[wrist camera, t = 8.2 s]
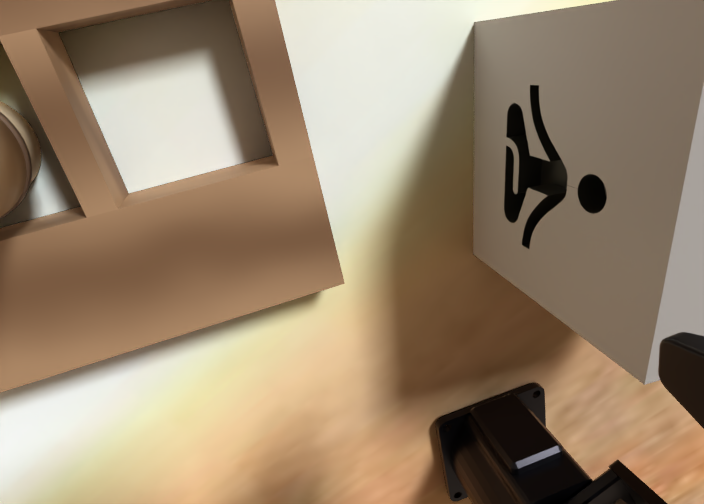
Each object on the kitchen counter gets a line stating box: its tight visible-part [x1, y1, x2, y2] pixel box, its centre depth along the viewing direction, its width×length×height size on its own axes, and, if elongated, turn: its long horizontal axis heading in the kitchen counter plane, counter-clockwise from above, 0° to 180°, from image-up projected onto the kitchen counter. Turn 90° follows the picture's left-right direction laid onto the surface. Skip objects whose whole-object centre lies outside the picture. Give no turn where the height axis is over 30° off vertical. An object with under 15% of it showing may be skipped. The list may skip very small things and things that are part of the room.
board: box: [0, 0, 344, 393], centre depth 16 cm, size 13×15×2 cm
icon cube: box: [473, 0, 704, 385], centre depth 17 cm, size 10×10×10 cm
